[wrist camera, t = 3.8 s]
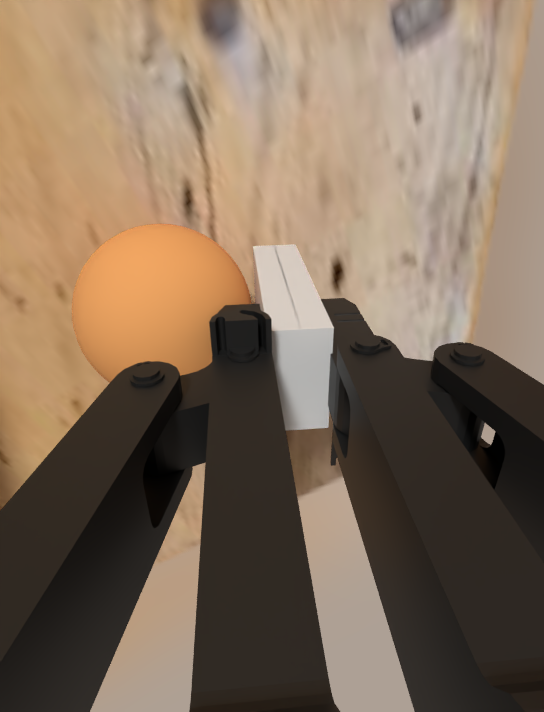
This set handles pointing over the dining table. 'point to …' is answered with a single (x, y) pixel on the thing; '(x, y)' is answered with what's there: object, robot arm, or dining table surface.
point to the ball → (153, 299)
